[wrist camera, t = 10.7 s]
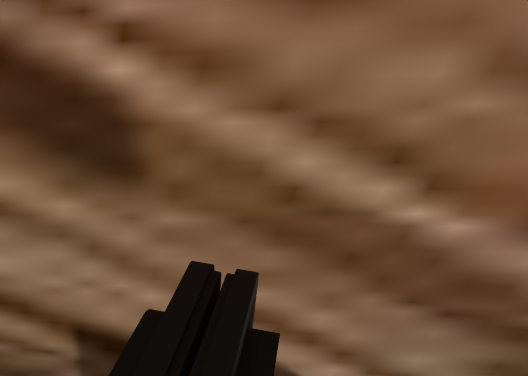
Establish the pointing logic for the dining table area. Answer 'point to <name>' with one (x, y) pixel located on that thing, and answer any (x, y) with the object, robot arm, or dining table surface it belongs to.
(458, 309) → the dining table surface
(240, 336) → the robot arm
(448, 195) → the dining table surface
